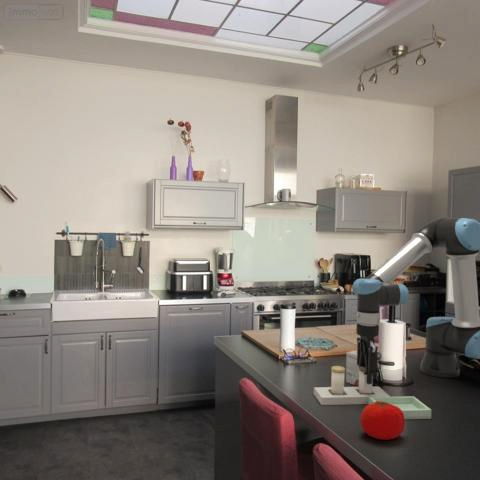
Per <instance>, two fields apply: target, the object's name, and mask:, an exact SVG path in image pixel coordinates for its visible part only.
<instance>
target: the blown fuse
mask: <svg viewBox="0 0 480 480" xmlns="http://www.w3.org/2000/svg"><path fill="white" fill-rule="evenodd" d="M364 373H366V370H365V366H360V367H359V394H360V395H363V394H372V393H364Z"/></svg>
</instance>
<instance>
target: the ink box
mask: <svg viewBox="0 0 480 480" xmlns="http://www.w3.org/2000/svg"><path fill="white" fill-rule="evenodd" d="M345 355H346V357H345V358H346V359H345V361H346V364H345V366H346V367H345V374H346V375H345V382H346V383H347V384H351V385H354V386H355V387H359V365H357V350H351V351H346V354H345Z"/></svg>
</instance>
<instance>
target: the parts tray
mask: <svg viewBox="0 0 480 480" xmlns="http://www.w3.org/2000/svg"><path fill="white" fill-rule="evenodd" d="M376 401H378V402H379V401H383V402H387V403H389V404H391V405H394V406H397V407H398V408H400V409H401V411H402V412H403V414H404V419H405V420H426V419H429V420H431V419H432V409H431V408H430V407H428V406H427V405H426V404H424V403H423V402H422V401H420V400H419V399H418V397H417V398H416V396H413V395H412V396H411V395H410V396H409V395H408V396H406V395H405V396H403V395H402V396H390V397H369V404H373V403H375V402H376ZM369 404H368V405H369Z"/></svg>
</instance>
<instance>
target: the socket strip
mask: <svg viewBox="0 0 480 480" xmlns="http://www.w3.org/2000/svg"><path fill="white" fill-rule="evenodd" d="M330 370H331V381H330V382H331V383H330V386H328V387H327V386H325V387H324V386H323V387H320V386H319V387H318V386H317V387H315V386H314V387H313V396H314V397H315V398H316V400H317V401H318V402H319V403H320V405H321V406H331V405H333V406H334V405H335V406H338V405H369V397H391V395H389V394H388V393H387V392H386V391H384V389H382V387H380V386H372V394H363V395H360V394H359V387H358V386H345V376H346V375H345V374H346V367H344V366H341V365H333V366H331V369H330Z"/></svg>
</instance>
